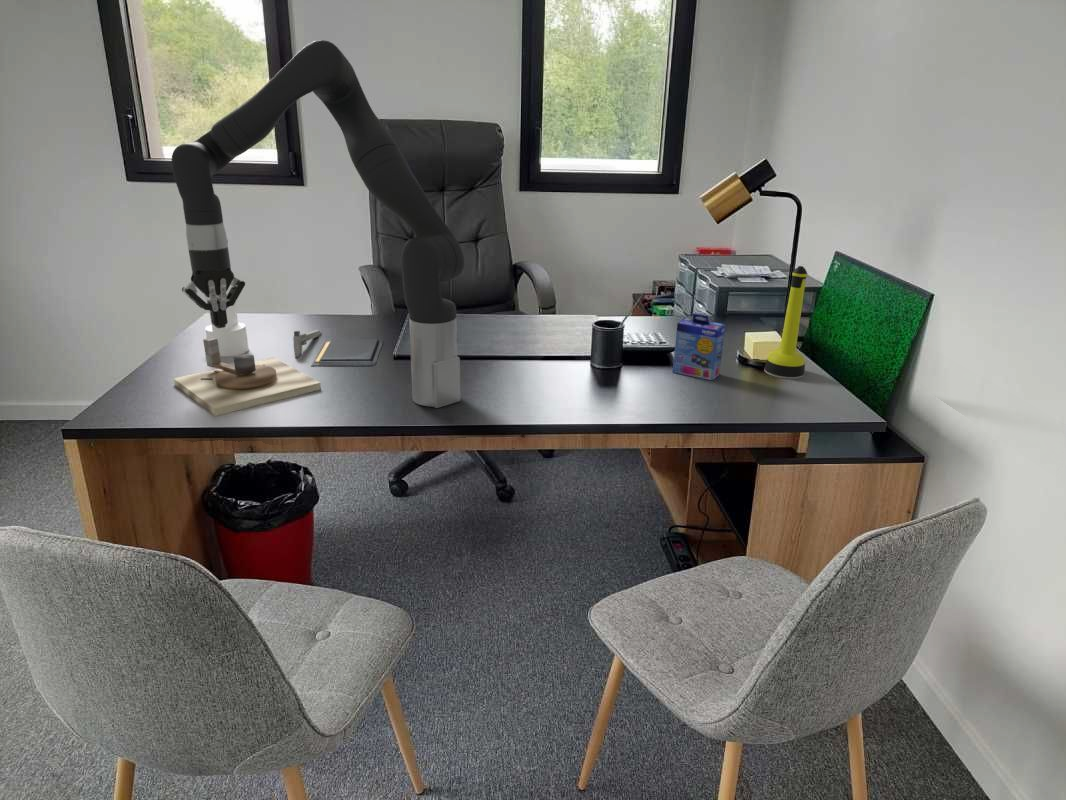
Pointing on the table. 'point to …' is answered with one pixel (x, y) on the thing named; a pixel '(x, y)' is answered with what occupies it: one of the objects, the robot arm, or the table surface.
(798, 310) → the flashlight
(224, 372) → the dial
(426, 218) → the robot arm
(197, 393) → the dial board
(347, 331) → the table surface
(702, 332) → the ink cartridge box
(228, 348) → the cylinder with rectangular tab
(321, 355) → the dark grey flat block
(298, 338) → the caliper
